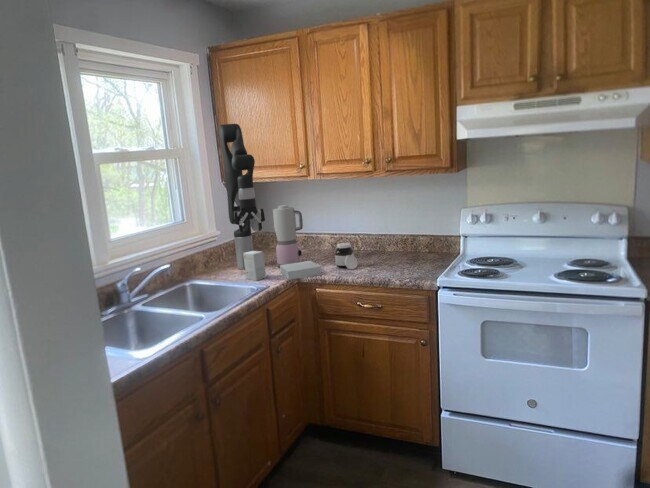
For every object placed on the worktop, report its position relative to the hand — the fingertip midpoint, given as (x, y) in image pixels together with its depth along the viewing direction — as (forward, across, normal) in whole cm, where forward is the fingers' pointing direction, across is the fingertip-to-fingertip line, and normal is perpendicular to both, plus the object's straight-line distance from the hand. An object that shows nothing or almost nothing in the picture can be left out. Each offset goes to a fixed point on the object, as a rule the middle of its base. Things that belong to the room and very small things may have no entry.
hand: (250, 231), depth 233 cm
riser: (+23, -21, +5) cm, 32 cm away
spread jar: (+23, -45, +7) cm, 51 cm away
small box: (+23, 0, 0) cm, 23 cm away
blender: (+23, -22, -15) cm, 35 cm away
